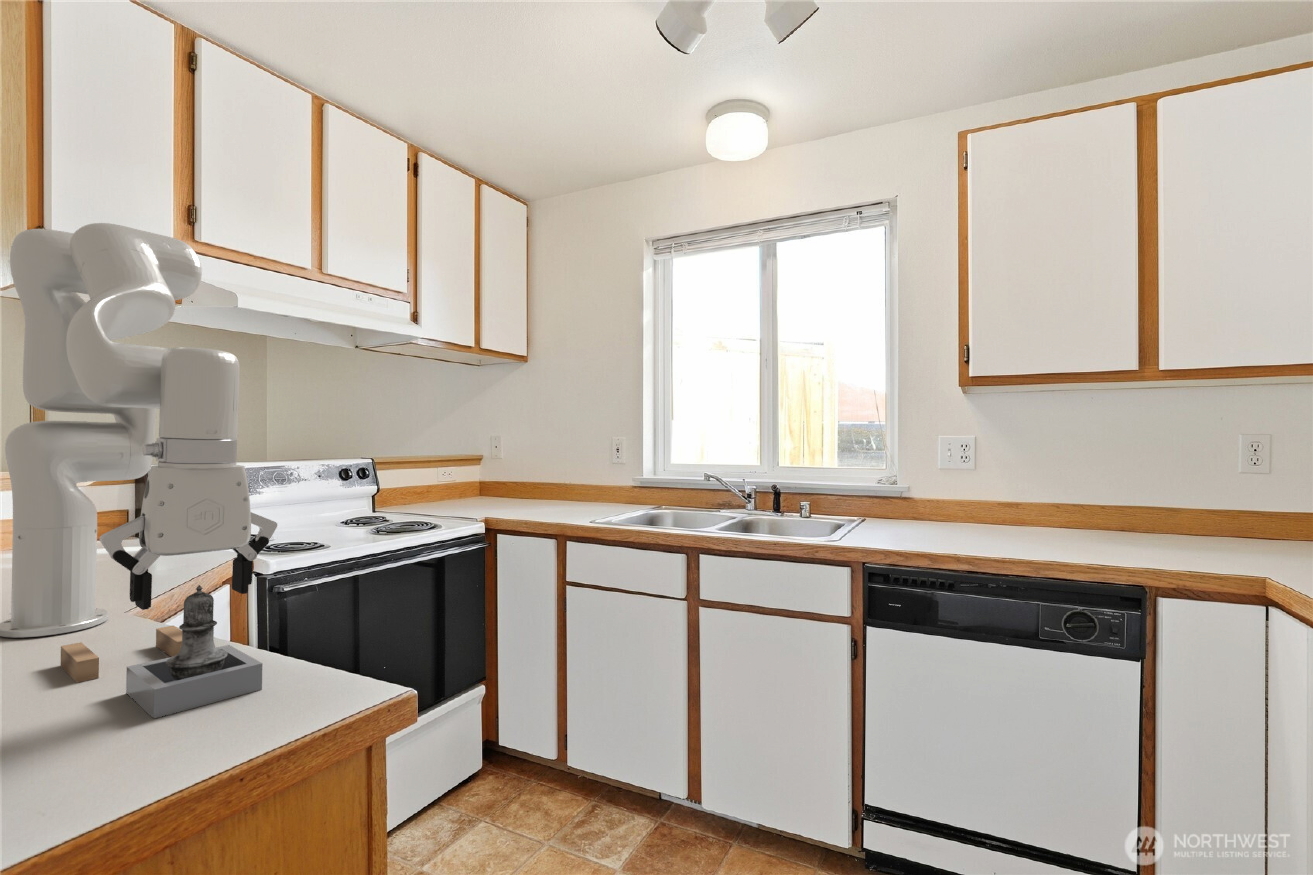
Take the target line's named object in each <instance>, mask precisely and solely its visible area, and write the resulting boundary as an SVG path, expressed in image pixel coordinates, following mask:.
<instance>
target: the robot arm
mask: <svg viewBox="0 0 1313 875" xmlns="http://www.w3.org/2000/svg"><path fill="white" fill-rule="evenodd" d="M9 252H10V254H9V268H10V273H11V279H12V281H13V285H14V287H15V290H16V293H17V295H18V298H19V301H20V303H21V307H22V309H23V315H24V339H23V340H24V341H23V359H22V360H23V361H22V362H23V364H22V389H23V390H22V391H23V396H24V399H25V400H26V402H27V404H29V406H31V407H33V408H35V409H38V410H41V411H47V412H57V413H75V414H76V413H78V414H101V415H102V414H103V415H104V414H105V415H106V414H107V415H113V417H114V421H115V422H112V421H111V422H110V421H108V422H106V421H104V422H103V421H84V420H40V421H33V422H27V423H23V424H20V425H18V426H17V427H15V428H14V429H12V431H10V433H9V434H8V435H7V437H6V440H5V445H4V446H5V447H4V448H5V449H4V451H5V460H6V465H7V470H8V473H9V475H8V476H9V479H10V484H11V485H10V486H11V495H12V496H11V498H12V546H11V548H12V549H11V550H12V552H11V553H12V554H11V556H12V558H11V559H12V560H11V598H10V599H11V600H10V601H11V602H10V603H11V605H10V609H11V610H10V611H11V612H10V618H9V619H7V620H3V621H1V622H0V637H3V638H13V639H14V638H18V639H19V638H20V639H22V638H37V637H38V638H39V637H46V636H53V635H61V634H66V633H71V632H77V631H81V630H84V629H89V628H92V627H96V626H98V625H100V624H103V623H104V622H106V621H107V620H108V619H109V611H108V610H106V609H103V608H96V605H97V604H96V603H97V602H96V601H97V598H96V597H97V556H98V555H97V554H98V553H97V552H98V548H97V547H98V546H97V544H98V540H99V542H100V543H101V544H102V546H103V548H104V549H105V551H106V552H107V553H108V555H109V557H110V558H111V559H112V560H113V561H115V562H116V563H117V564H120V565H121V567H124V568H125V569H127V570H128V571H130V572H129V573H130V574H129V600H130V602H132V603H134V605H135V606H136V607H137V608H139V609H140V610H142V611H145V610H149V609H150V608H151V607H152V591H153V588H152V587H153V586H152V584H153V575H152V573H151V572H149V568H150V567H151V566H152V565H153V564H154V563H155V562H156V561H157V560H158V559H159V558H160V557H161V556H162V557H167V556H168V557H171V556H181V555H182V556H183V555H190V554H193V555H194V554H199V553H200V554H201V553H210V552H220V551H228V550H232V551H234V553H235V554H236V557H234V559H233V560H232V568H231V569H232V573H231V574H232V575H231V576H232V578H231V589H232V590H233V591H234V592H236V593H239V594H241V595H245V594H248V593H249V586H250V585H252V583H253V564H254V563H253V562H254V561H255V560H256V559H257V558H258V554H260V553H261V551H263V550H264V549H265V548H266V547H267V546H268V545H269V543H270V539H271V538H272V537H273V535H274V533H275V531H276V530H277V528H278V522H276V521H275V520H272V519H270V518H267V517H264V516H263V515H259V514H256V513H254V512H252V511H251V500H250V490H249V482H248V476H247V472H246V467H245V465H239V464H237V459H238V458H237V457H238V456H237V455H238V430H239V400H240V399H239V398H240V376H241V375H240V374H241V373H240V372H241V369H240V367H241V366H240V362H239V360H238V357H237V356H236V355H234V353H231V352H229V351H225V350H222V349H214V348H205V347H204V348H203V347H192V346H181V347H179V346H178V347H171V348H170V347H169V348H168V347H161V346H159V347H158V346H152V345H143V344H134V343H126V342H115V341H114V340H120V339H126V338H131V337H135V336H139V335H143V334H148V333H152V332H153V331H156V330H158V329H160V328H162V327H163V326H165V325H167V324H168V322H169V321H170V320H171V319H172V318H173V316H174V314H175V312H176V311H175V310H176V301H178V300H183V299H185V298H188V297H190V296H192V295H193V294H194V293H195V292H196V291H197V290H198V288H199V286H200V284H201V280H202V274H203V273H202V272H203V268H202V264H201V260H200V259H199V256H198V255H197V253H196V251H195V250H194V248H192V246H190V244H188V243H186V242H185V241H183V240H181V239H177V238H175V237H170V236H167V235H162V234H158V233H154V232H150V231H145V230H141V229H137V228H134V227H128V226H125V225H120V224H115V223H109V222H107V223H106V222H95V223H94V222H93V223H90V224H86V225H83V226H81V227H79V228H77V230H75V232H74V233H73V232H68V231H62V230H56V229H46V228H45V229H44V228H43V229H42V228H31V229H26V230H24V231H21V232H19V233H18V234H17V235H16V236H15V237H14V238H13V241H12V243H11V246H10V251H9ZM80 294H84V295H88V297H89V300H88V301H85V300H84V299H83V298H82V296H80ZM157 410H159V420H158V421H159V422H158V424H159V425H158V426H159V427H158V437H157V438H156V422H157V421H156V419H157ZM154 459H155V460H156V461H157V465H153V461H154ZM146 474H148V475H147V479H146V483H145V488H144V492H143V493H144V494H143V498H142V505H141V511H140V516H138V517H136V518H134V519H132V520H130V521H128V522H126V523H123V524H122V525H120V526H117V527H115V528H113V529H110V530H108V531H107V532H105V533H102V534H101V535H100V536H99V539H98V511H97V507H96V505H95V504H94V503H93V501H92V500H91V499H90V498H89V496H87V494H85V493H84V492H83V491H82V490H81V489H80V488H79V487H78V486H77V484H80V483H87V482H110V481H111V482H113V481H114V482H115V481H117V482H118V481H128V480H129V481H130V480H136V479H139V478H143V477H144V476H145V475H146ZM252 525H254V526H256V527H258V528H259V531H258V533H257V535H256V536H255V537H253V538H252V539H251V535H252ZM138 533H139V534H138ZM136 534H138V535H139V536H138V539H139V545H140V547H141V548H140V549H139V550H138V551H137V552H136V553H135V554H134V555H133V556H132V555H131V554H130V553H128V552H127V551H126V550H125V548H124V546H123V544H122V542H124V540H126V539H127V538H130V537H131V536H133V535H136Z"/></svg>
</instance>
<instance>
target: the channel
mask: <svg viewBox="0 0 1313 875" xmlns="http://www.w3.org/2000/svg"><path fill="white" fill-rule="evenodd" d="M181 645H182V630H181V629H180V628H179V627H177V626H175V625H170V626H163V627H158V628H156V629H155V646H156V648H158V650H161V651H162V652H163V651H164V653H165V654H166V655H168V656H169V657H173V656H175V655H177V654H178V653H179V652H180V649H181ZM60 667H61V668H62V669H63V670H64V671H65V672H66V673H67V674H68V675H69V676H70V677H71V678H72V679H73V680H74V682H76V683H81V682H87V681H91V680H96V679H99V675H100V674H99V672H100V657H99V656H98V655H97V654H95V653H94V652H93V650H91V649H90V648H88V647H87V646H86V645H85V644H84V643H83V642H75V643H71V644H65V645H64V644H63V645H60Z"/></svg>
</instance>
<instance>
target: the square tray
mask: <svg viewBox="0 0 1313 875" xmlns="http://www.w3.org/2000/svg"><path fill="white" fill-rule="evenodd" d="M215 647H216V648H217V649H220V650H224V651H227V653H228V655H227V657H226V658H225V659H224V664H223V666H222V668H221V670H219V671H215V672H210V673H206V674H202V675H198V676H194V677H189V678H185V679H181V680H175V679H174V678H173V677H172V676H171V674H170V671H169V666H167V665H166V661H167V660H168V659H169V658H171V656H169V657H166V658H161V659H156V660H152V661H147V662H142V663H137V664H133V665H128V666H126V680H125V682H126V684H125V694H126V693H127V694H128V695H129V696H131V697H130V699H132V698H133V699H134V700H135V701H136V702H137V703H138V704H139V705H140V706H139V707H140V708H142V710H144V711H145V712H146V713H147V714H148V715H149V716H150V715H151V716H150V717H151V718H152V719H159V718H161V717H162V716H163V717H166V716H170V715H173V713H174V714H176V712H177V713H180V712H184V711H188V710H191V709H194V708H195V709H196V708H199V707H202V706H206V705H210V704H213V703H217V702H220V701H224V700H228V699H233V698H235V697H238V696H242V695H247V694H250V693H254V692H257V691H261V690H263V662H261V661H259V660H257V659H255V658H254V657H252V656H250V655H248V654H246V653H245V652H243V651H241V650H239V649H238V648H236V647H233V646H232V645H230V644H227V645H223V646H218V647H217V646H215ZM127 694H126V695H127ZM128 695H127V696H128ZM129 696H128V697H129ZM133 699H132V700H133ZM134 700H133V701H134ZM135 701H134V702H135ZM136 702H135V703H136ZM137 703H136V704H137ZM138 704H137V705H138ZM165 715H166V716H165Z"/></svg>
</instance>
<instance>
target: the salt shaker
mask: <svg viewBox="0 0 1313 875" xmlns="http://www.w3.org/2000/svg"><path fill="white" fill-rule="evenodd" d="M203 589H204V587H202V586H201V585H200V584H198V586H196V588H195V590H196V591H195V592H194V593H191V594H189V595H188V596H186V597H185V599H184V601H183V619H182V622H183V623H181V625H179V627H178V629H180V630H182V645H181V649H180V652H179V653H178V654H177V655H175V656H173V657H171V656H170V657H171V658H170V657H168V658H169V659H168V660H167V661H166V665H167V666H169V671H170V674H171V676H172V677H173V678H174V679H175V680H181V679H185V678H189V677H194V676H198V675H202V674H206V673H210V672H215V671H219V670H221V668H222V666H223V664H224V659H225V658H226V657H227V655H228V653H227V651H224V650H220V649H217V648H216V647H217V646H216V644H215V640H214V633H215V632H214V630H215V629H214V628H215V626H216V625H217V624H218V622H217V621H216V620H214V605H215V604H214V602H215V601H214V600H215V599H214V597H213V595H212V594H210V593H208V592H204V591H202V590H203Z"/></svg>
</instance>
